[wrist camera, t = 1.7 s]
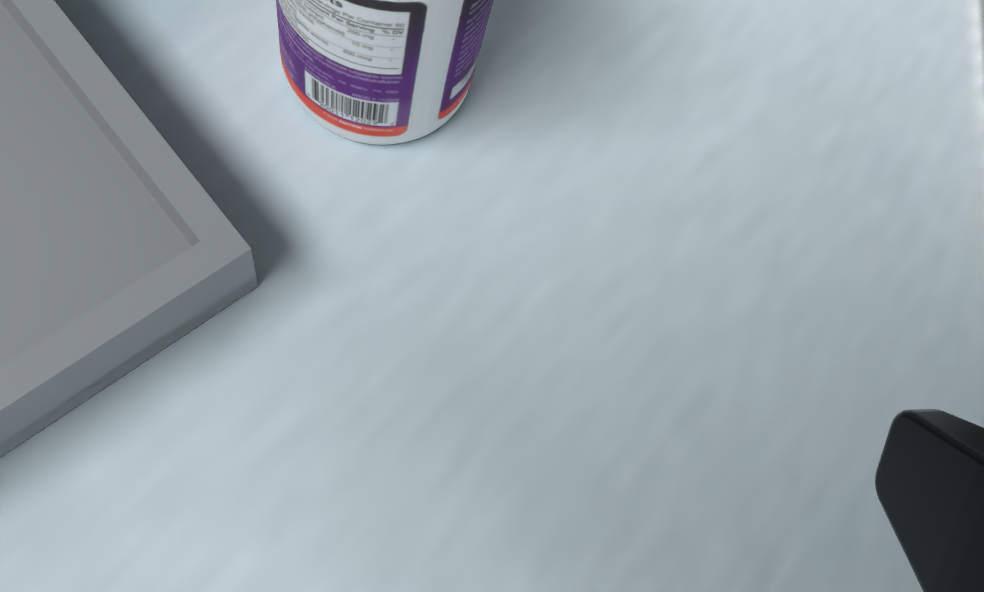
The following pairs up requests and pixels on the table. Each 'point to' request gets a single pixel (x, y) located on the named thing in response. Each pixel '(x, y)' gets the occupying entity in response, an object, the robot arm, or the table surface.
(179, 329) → the tray
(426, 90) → the pill bottle
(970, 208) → the table surface
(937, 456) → the robot arm
